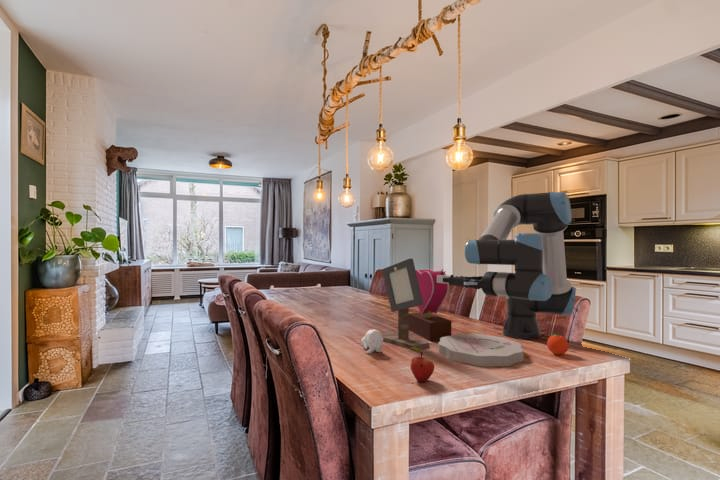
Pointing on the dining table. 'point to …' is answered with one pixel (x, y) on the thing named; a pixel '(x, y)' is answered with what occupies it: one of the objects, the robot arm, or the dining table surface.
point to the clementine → (557, 344)
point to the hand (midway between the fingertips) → (438, 278)
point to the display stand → (404, 333)
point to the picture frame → (402, 285)
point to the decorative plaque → (480, 349)
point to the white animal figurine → (372, 341)
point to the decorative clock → (430, 307)
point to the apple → (421, 367)
